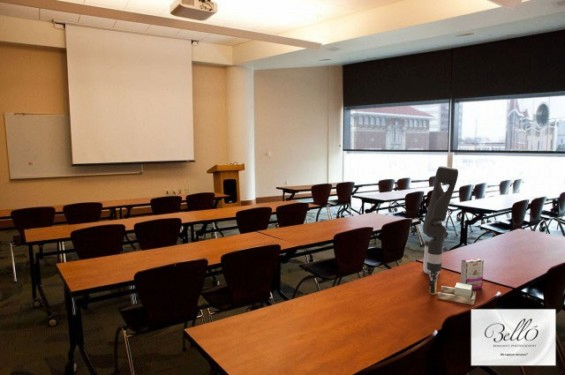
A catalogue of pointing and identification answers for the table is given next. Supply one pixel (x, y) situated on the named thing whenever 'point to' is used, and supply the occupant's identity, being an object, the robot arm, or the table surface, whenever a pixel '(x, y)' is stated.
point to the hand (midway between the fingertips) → (433, 291)
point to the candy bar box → (472, 272)
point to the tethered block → (460, 289)
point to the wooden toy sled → (455, 296)
